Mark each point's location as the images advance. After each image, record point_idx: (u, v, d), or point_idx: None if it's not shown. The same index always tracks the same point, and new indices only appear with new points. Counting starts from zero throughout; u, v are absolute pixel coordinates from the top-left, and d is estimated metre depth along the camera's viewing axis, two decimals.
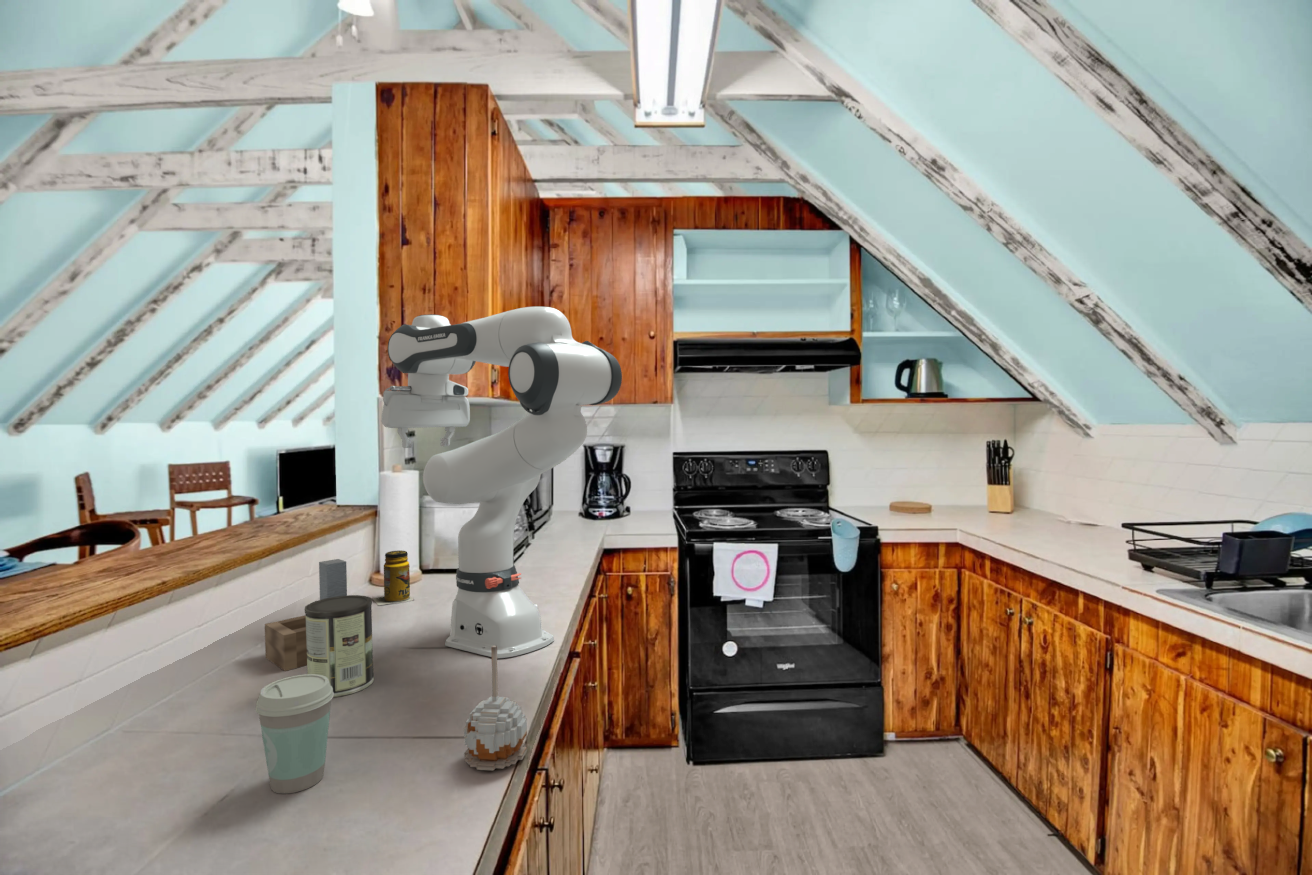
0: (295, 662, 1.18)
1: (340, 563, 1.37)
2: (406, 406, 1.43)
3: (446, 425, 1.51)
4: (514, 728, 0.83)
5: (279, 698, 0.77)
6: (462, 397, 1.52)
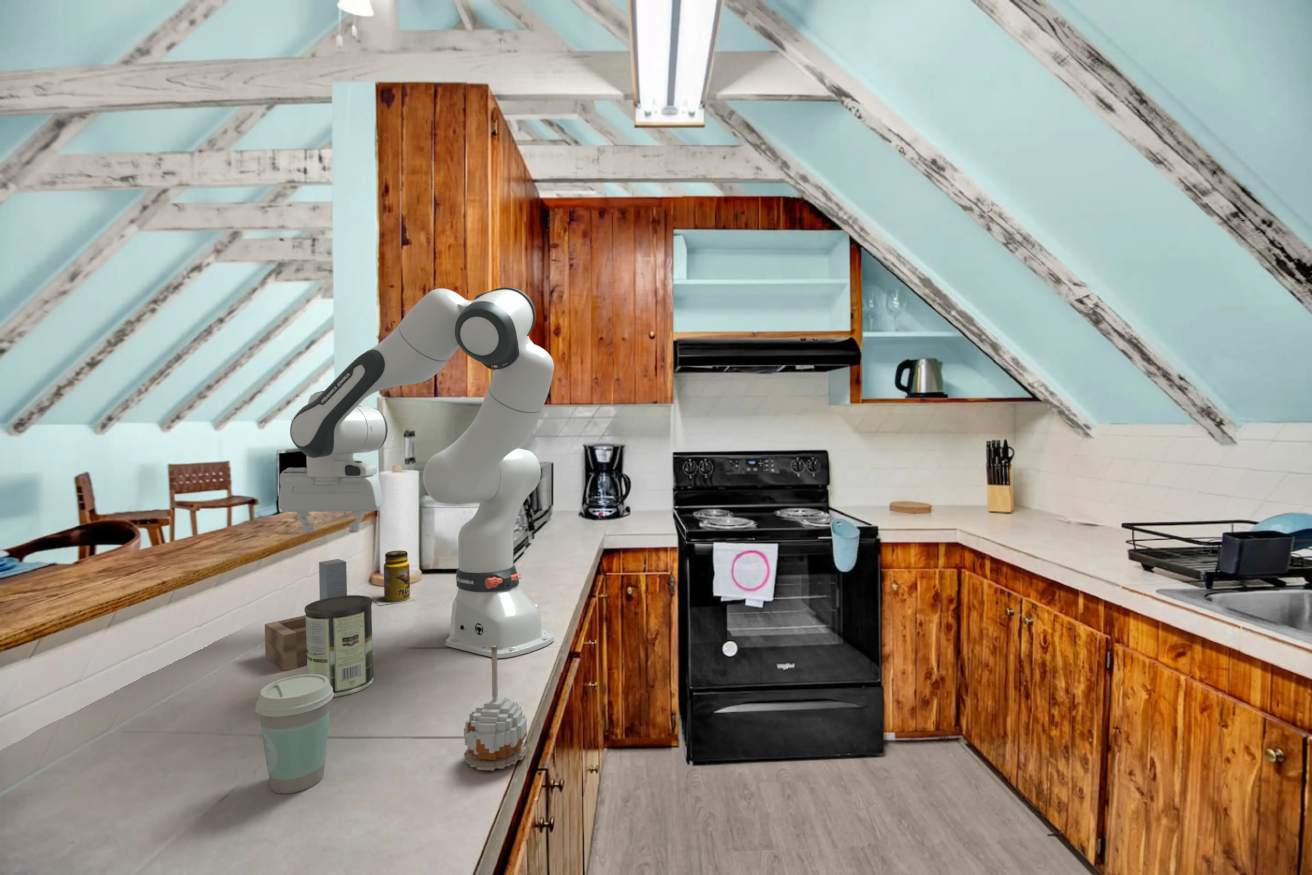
0: (295, 662, 1.18)
1: (340, 563, 1.37)
2: (299, 489, 1.35)
3: (346, 509, 1.36)
4: (514, 728, 0.83)
5: (279, 698, 0.77)
6: (361, 478, 1.35)
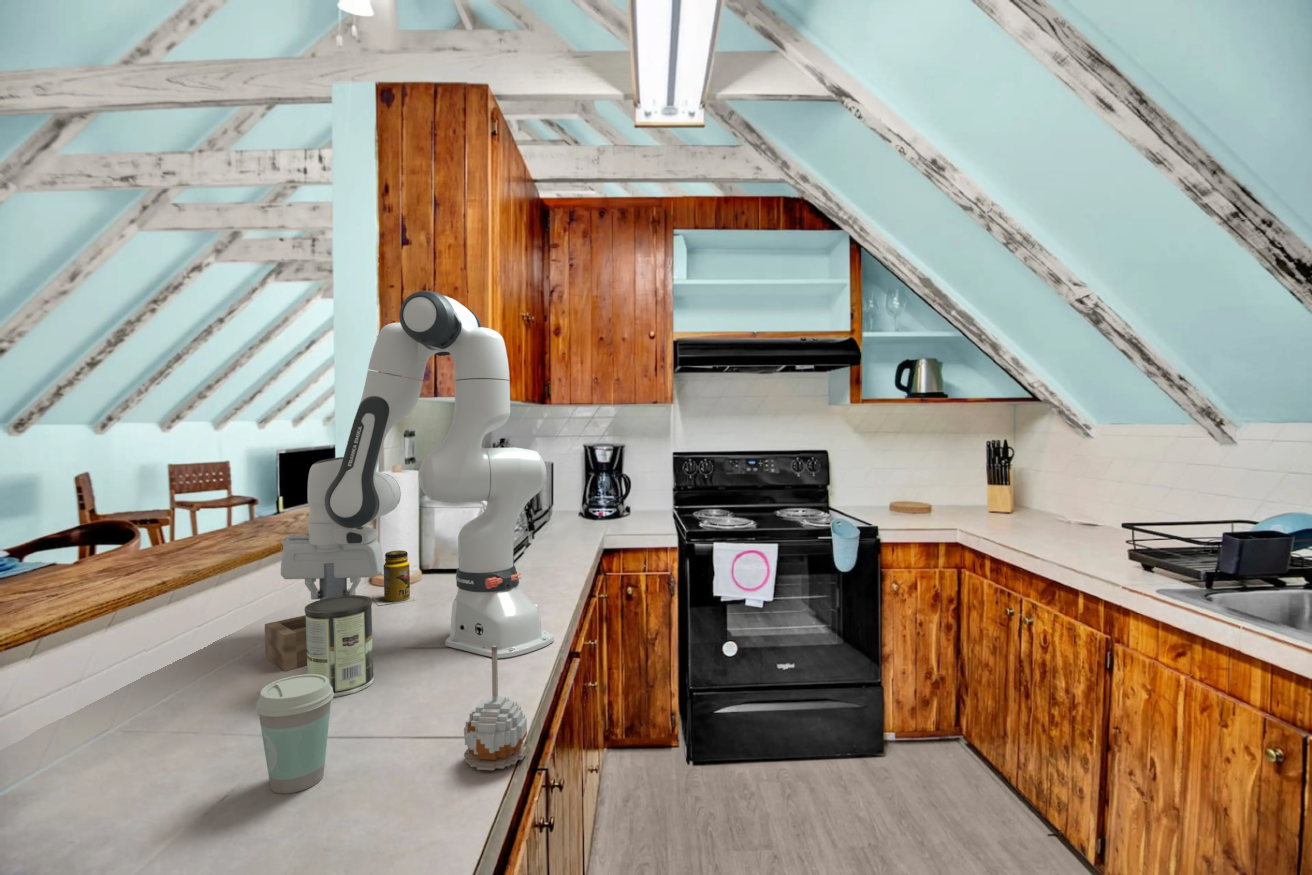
0: (295, 662, 1.18)
1: None
2: (301, 556, 1.36)
3: (348, 576, 1.36)
4: (514, 728, 0.83)
5: (279, 698, 0.77)
6: (362, 545, 1.35)
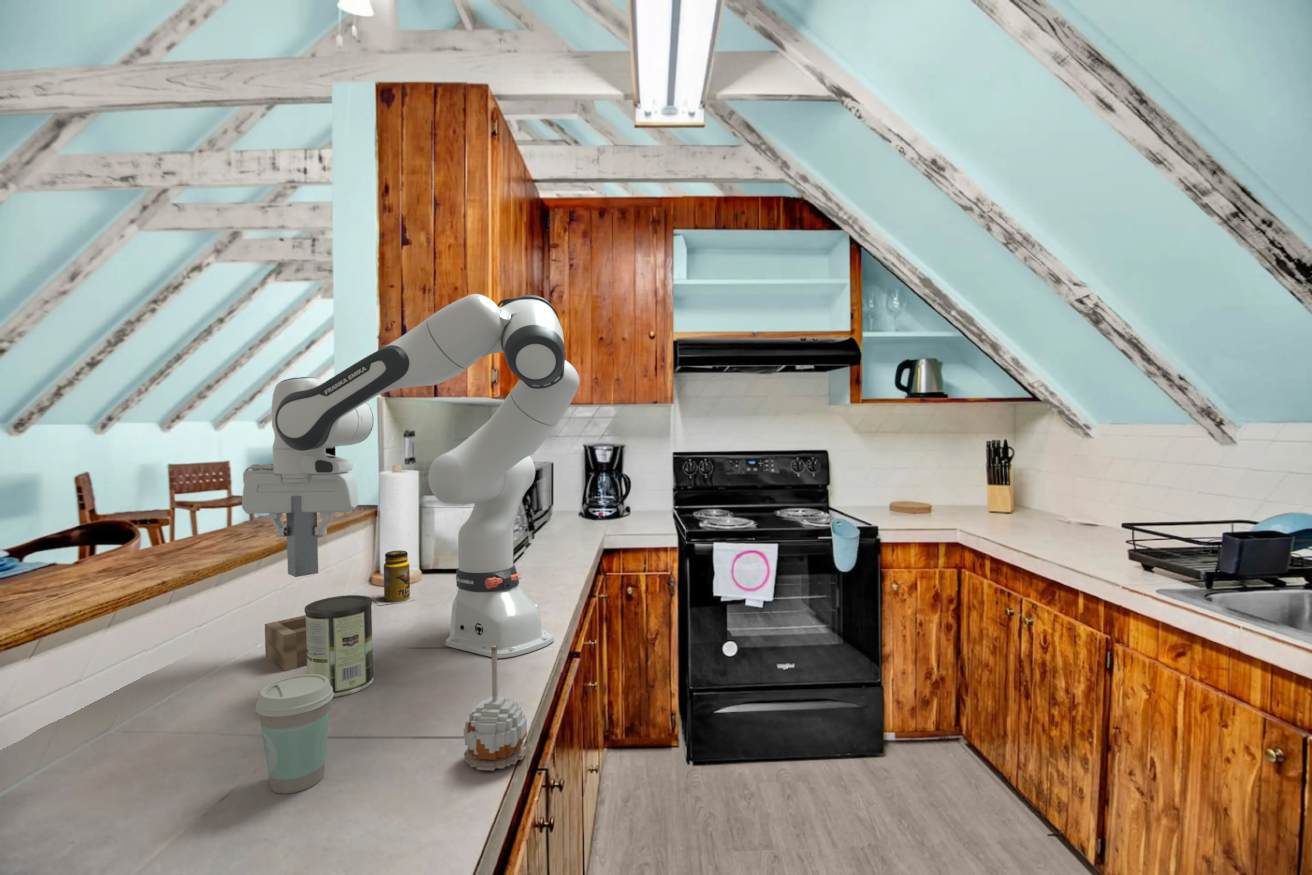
0: (295, 662, 1.18)
1: None
2: (264, 488, 1.21)
3: (317, 510, 1.21)
4: (514, 728, 0.83)
5: (279, 698, 0.77)
6: (333, 475, 1.21)
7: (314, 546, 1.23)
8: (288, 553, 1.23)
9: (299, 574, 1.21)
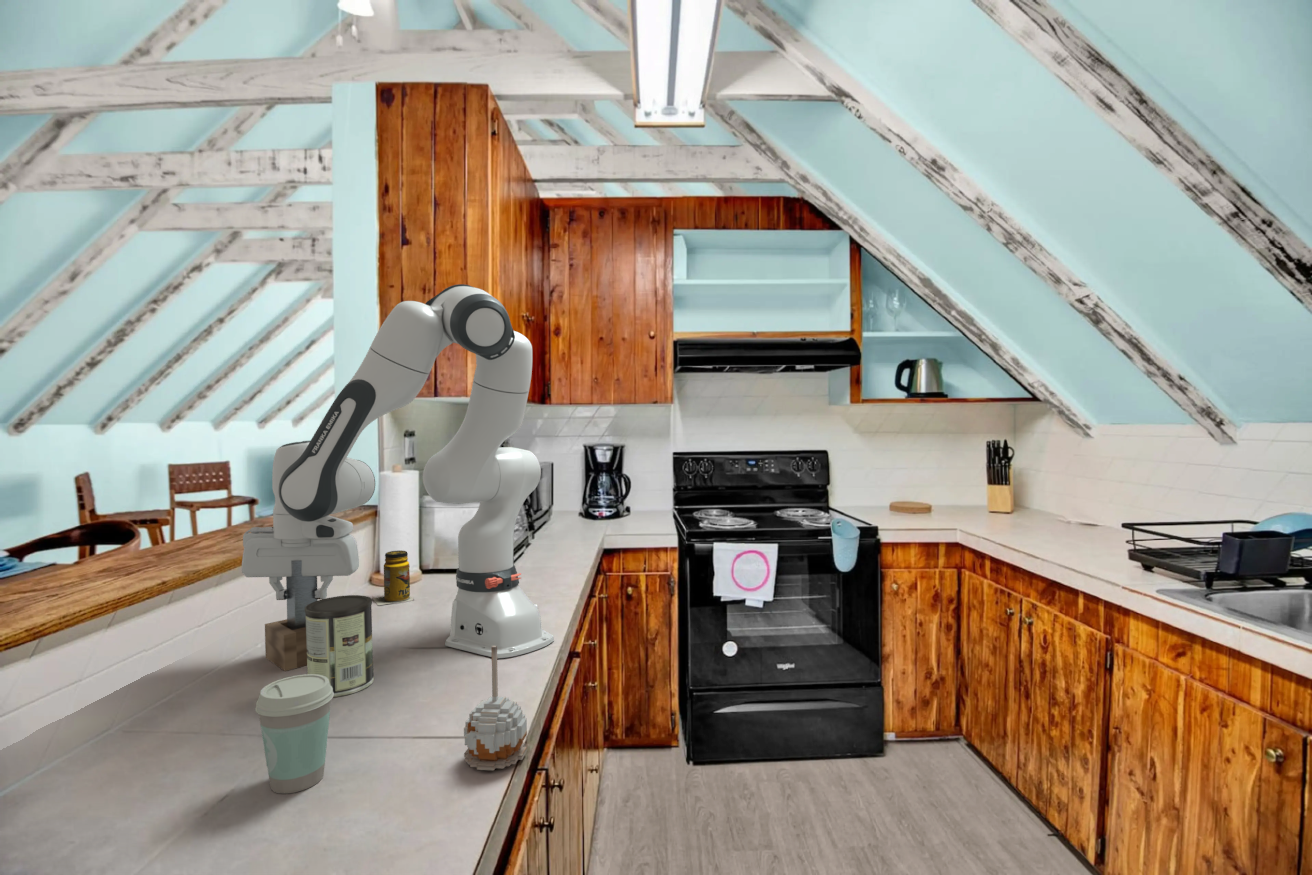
0: (295, 662, 1.18)
1: None
2: (264, 551, 1.21)
3: (318, 574, 1.21)
4: (514, 728, 0.83)
5: (279, 698, 0.77)
6: (334, 539, 1.20)
7: None
8: (288, 616, 1.23)
9: None
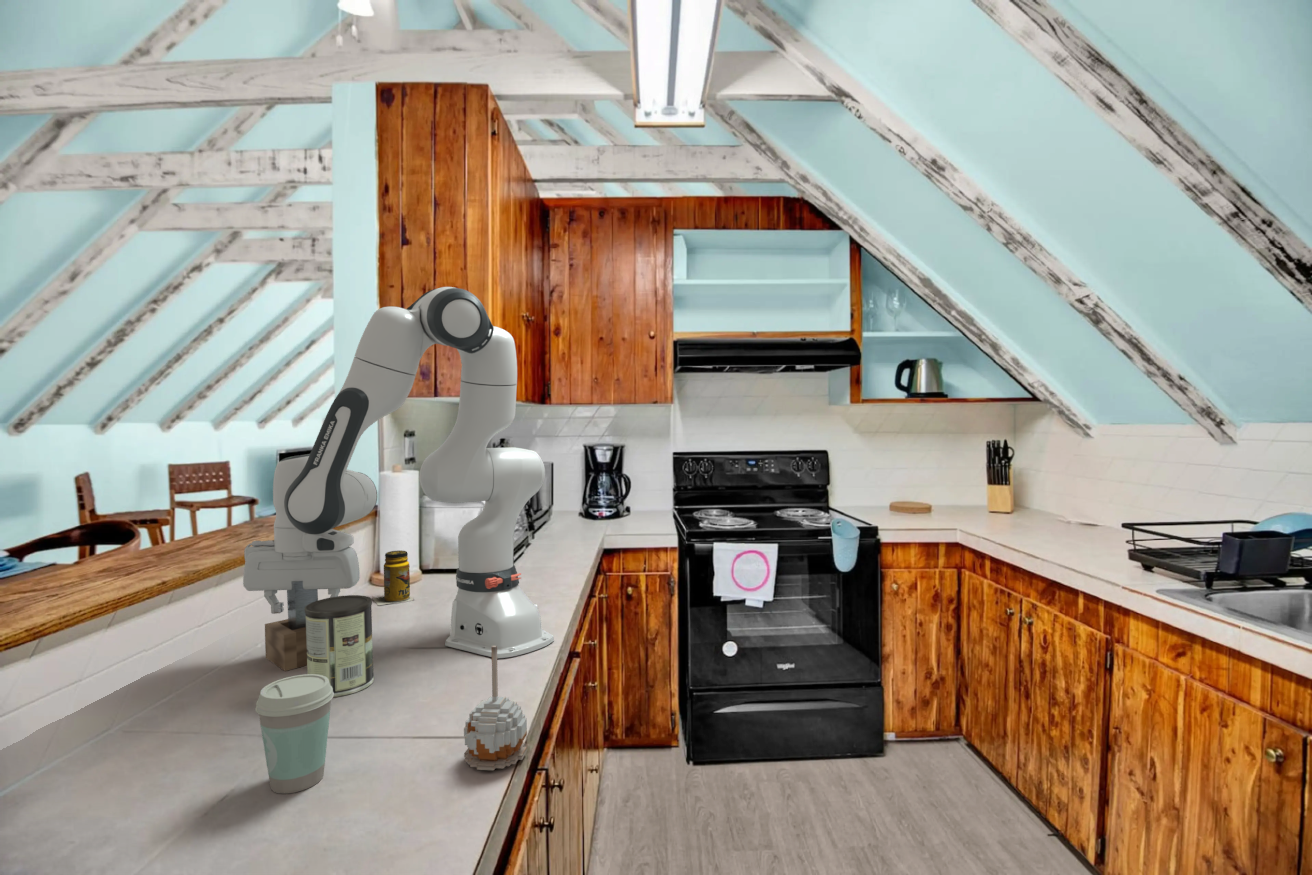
0: (295, 662, 1.18)
1: None
2: (266, 565, 1.21)
3: (319, 587, 1.21)
4: (514, 728, 0.83)
5: (279, 698, 0.77)
6: (335, 552, 1.21)
7: None
8: None
9: None
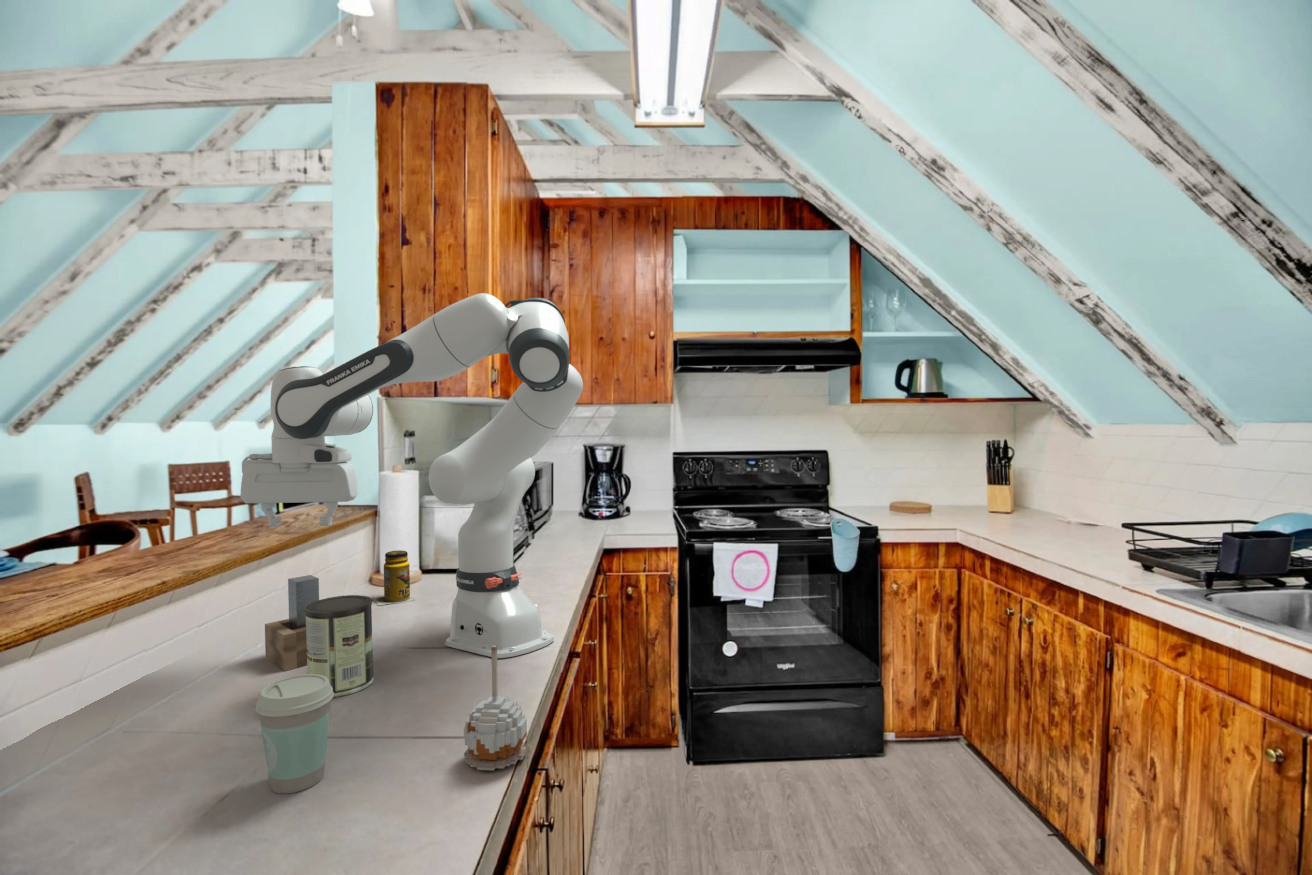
0: (295, 662, 1.18)
1: (311, 580, 1.22)
2: (263, 477, 1.21)
3: (317, 500, 1.21)
4: (514, 728, 0.83)
5: (279, 698, 0.77)
6: (332, 464, 1.20)
7: None
8: None
9: None
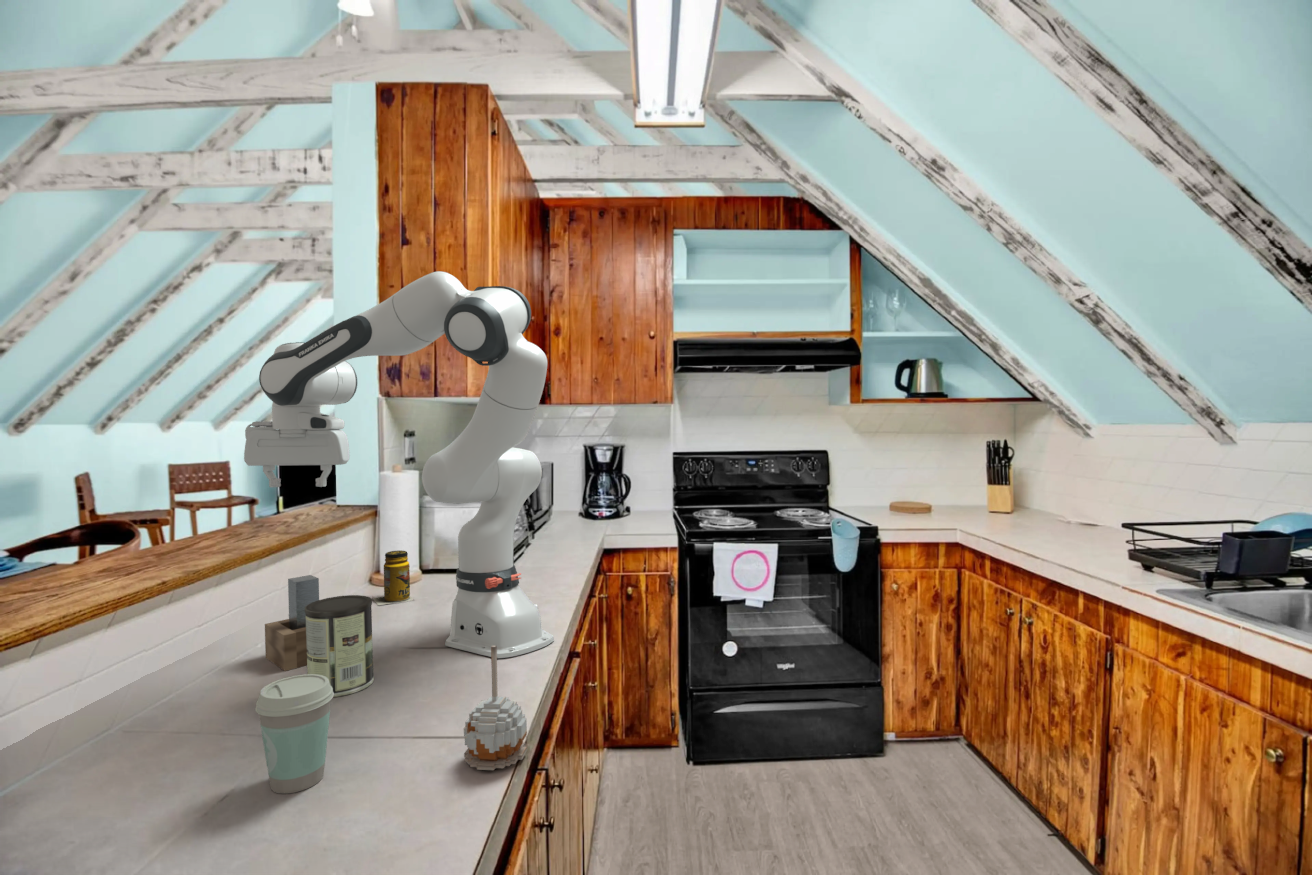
0: (295, 662, 1.18)
1: (311, 580, 1.22)
2: (264, 442, 1.34)
3: (312, 463, 1.34)
4: (514, 728, 0.83)
5: (279, 698, 0.77)
6: (327, 431, 1.34)
7: None
8: None
9: None
